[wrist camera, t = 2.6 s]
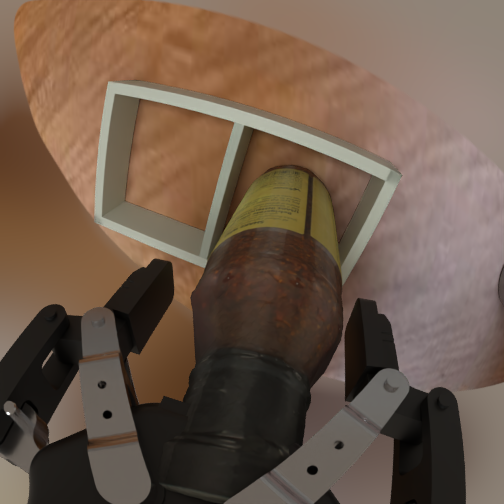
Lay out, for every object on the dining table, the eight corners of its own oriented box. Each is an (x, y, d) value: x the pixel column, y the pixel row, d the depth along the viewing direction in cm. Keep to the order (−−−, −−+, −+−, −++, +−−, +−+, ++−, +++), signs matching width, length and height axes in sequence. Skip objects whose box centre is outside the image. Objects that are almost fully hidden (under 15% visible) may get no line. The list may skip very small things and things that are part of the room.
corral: (390, 161, 19) (402, 174, 16) (326, 286, 25) (325, 313, 22) (135, 79, 19) (108, 81, 16) (117, 206, 25) (94, 222, 23)
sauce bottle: (235, 213, 23) (81, 461, 7) (275, 145, 20) (70, 415, 3) (306, 255, 24) (253, 530, 7) (353, 194, 21) (388, 518, 4)
